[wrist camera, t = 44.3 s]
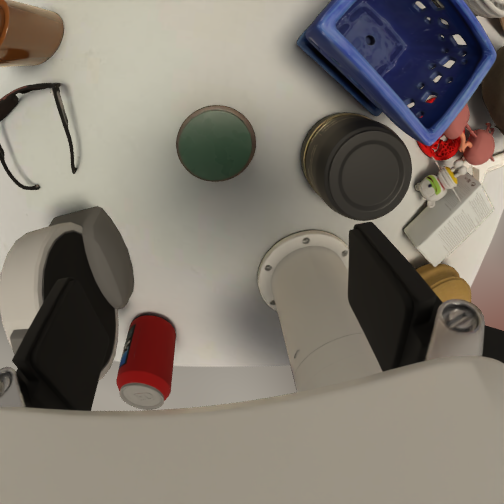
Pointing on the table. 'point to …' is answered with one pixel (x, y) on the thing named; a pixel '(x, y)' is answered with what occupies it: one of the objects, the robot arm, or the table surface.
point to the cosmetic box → (450, 220)
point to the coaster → (233, 113)
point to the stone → (502, 21)
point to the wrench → (485, 166)
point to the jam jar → (27, 34)
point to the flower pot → (402, 58)
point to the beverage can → (147, 363)
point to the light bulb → (485, 8)
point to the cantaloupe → (495, 90)
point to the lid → (215, 144)
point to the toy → (441, 182)
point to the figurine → (472, 139)
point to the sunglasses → (9, 101)
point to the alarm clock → (67, 272)
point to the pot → (445, 282)
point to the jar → (356, 165)
